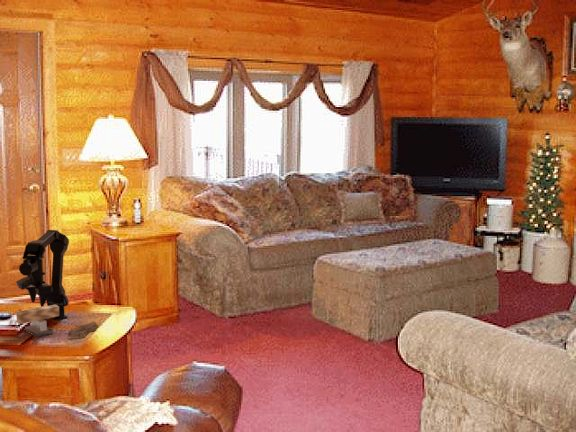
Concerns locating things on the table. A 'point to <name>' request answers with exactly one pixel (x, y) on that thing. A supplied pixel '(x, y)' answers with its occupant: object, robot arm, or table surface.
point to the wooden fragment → (82, 331)
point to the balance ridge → (39, 328)
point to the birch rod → (37, 314)
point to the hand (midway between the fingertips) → (37, 304)
